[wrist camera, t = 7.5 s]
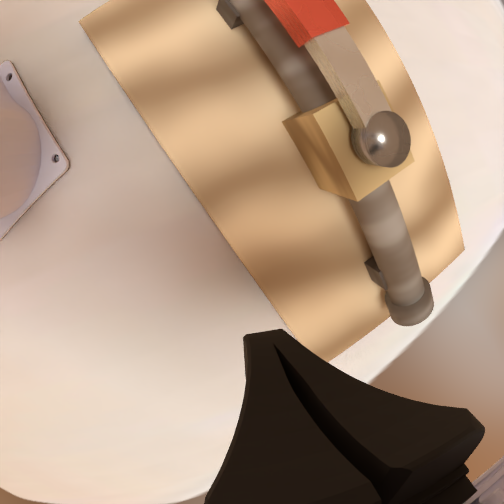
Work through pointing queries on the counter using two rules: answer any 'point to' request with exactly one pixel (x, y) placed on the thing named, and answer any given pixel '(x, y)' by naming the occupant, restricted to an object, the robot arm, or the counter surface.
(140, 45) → the valve board
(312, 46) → the valve lever
